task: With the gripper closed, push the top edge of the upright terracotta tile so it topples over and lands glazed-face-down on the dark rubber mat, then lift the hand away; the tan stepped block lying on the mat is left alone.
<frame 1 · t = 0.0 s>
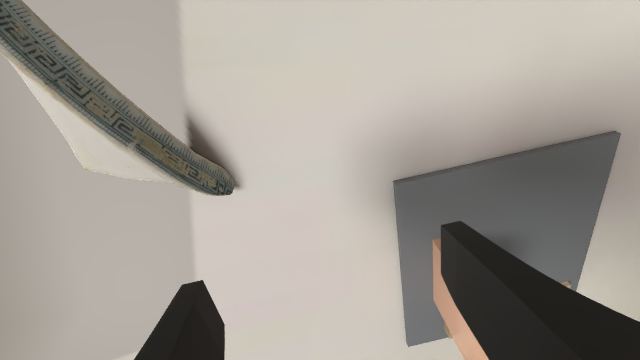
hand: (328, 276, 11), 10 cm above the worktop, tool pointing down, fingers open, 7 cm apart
mat: (495, 252, 26), on the worktop
ceramic fragment: (120, 97, 18), on the worktop
tile: (443, 269, 26), resting on mat
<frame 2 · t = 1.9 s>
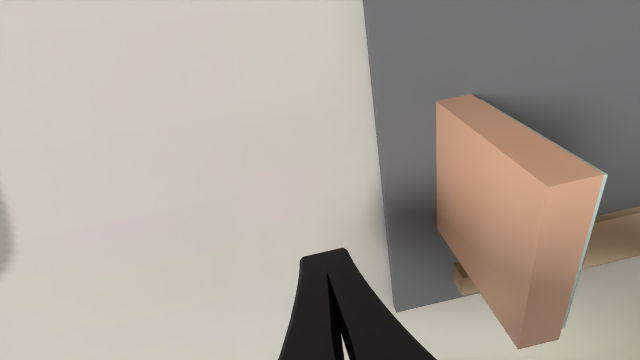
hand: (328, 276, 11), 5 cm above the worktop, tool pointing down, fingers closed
tan stepped block: (550, 249, 18), resting on mat
mat: (543, 142, 15), on the worktop
tile: (455, 167, 15), resting on mat
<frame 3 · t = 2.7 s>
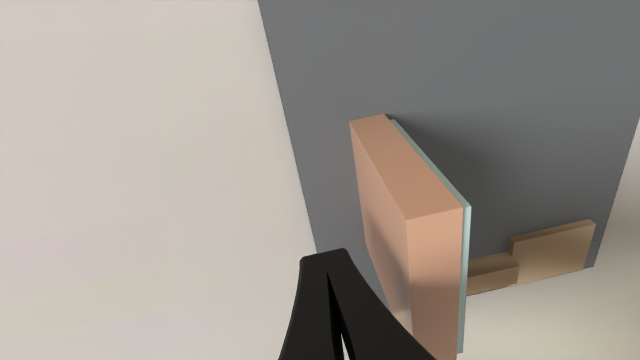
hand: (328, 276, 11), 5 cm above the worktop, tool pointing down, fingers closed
tan stepped block: (486, 264, 18), resting on mat
mat: (468, 160, 15), on the worktop
tile: (377, 185, 15), resting on mat
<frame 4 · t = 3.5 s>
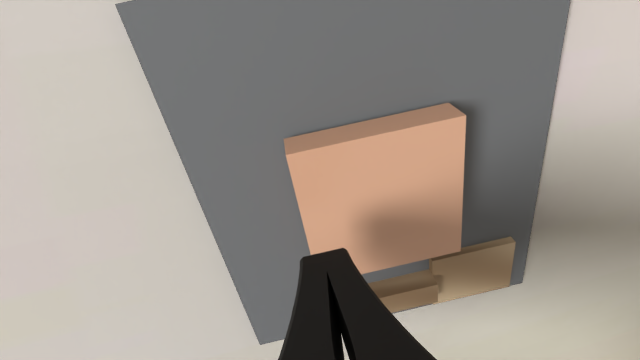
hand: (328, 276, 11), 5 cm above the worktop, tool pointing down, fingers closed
tan stepped block: (409, 282, 18), resting on mat
mat: (376, 180, 15), on the worktop
tile: (301, 214, 14), point 1 cm above the worktop, tilted 90°, touching mat
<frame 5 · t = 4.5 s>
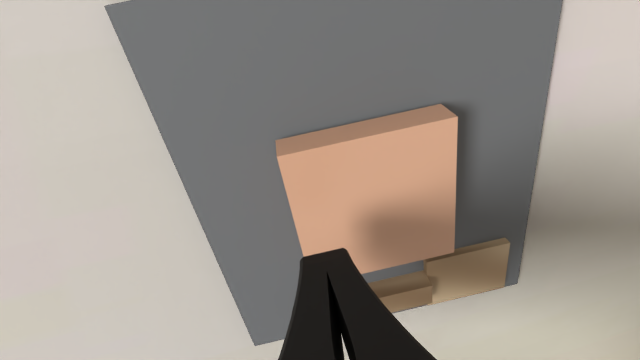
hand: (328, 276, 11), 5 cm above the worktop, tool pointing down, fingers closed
tan stepped block: (404, 283, 18), resting on mat
mat: (369, 181, 15), on the worktop
tile: (294, 215, 14), point 1 cm above the worktop, tilted 90°, touching mat
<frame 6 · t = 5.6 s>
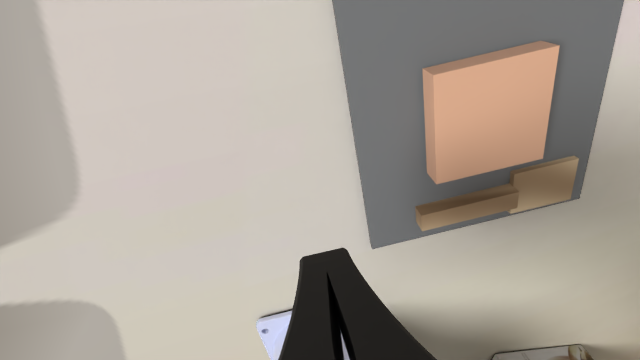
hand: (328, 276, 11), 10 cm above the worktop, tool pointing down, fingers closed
tan stepped block: (493, 195, 23), resting on mat
mat: (477, 106, 20), on the worktop
tile: (428, 128, 19), point 1 cm above the worktop, tilted 90°, touching mat
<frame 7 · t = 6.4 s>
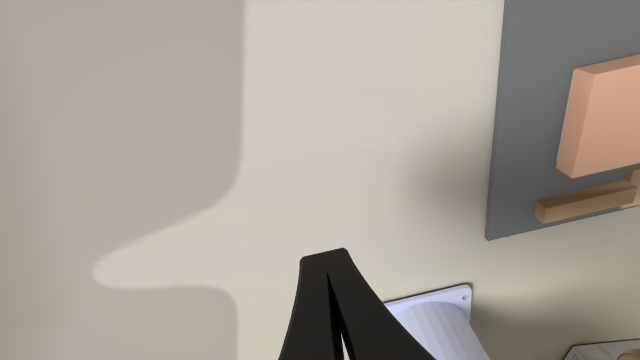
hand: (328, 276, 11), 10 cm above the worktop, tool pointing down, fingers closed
tan stepped block: (607, 190, 24), resting on mat
coffee box: (597, 358, 36), on the worktop
mat: (610, 105, 21), on the worktop
tile: (571, 125, 20), point 1 cm above the worktop, tilted 90°, touching mat
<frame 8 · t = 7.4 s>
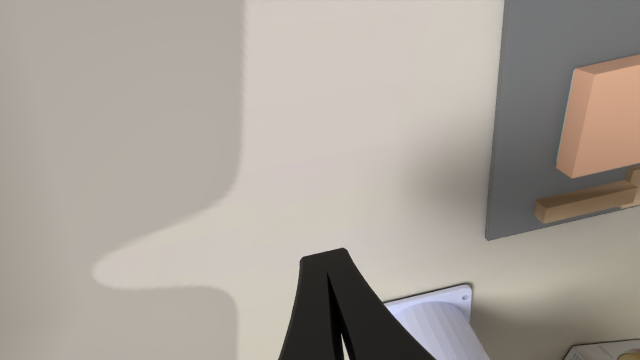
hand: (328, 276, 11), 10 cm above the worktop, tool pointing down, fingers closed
tan stepped block: (607, 190, 24), resting on mat
coffee box: (597, 358, 36), on the worktop
mat: (610, 105, 21), on the worktop
tile: (571, 125, 20), point 1 cm above the worktop, tilted 90°, touching mat
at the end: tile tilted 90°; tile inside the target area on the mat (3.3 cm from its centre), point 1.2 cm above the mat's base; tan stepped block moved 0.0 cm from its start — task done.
